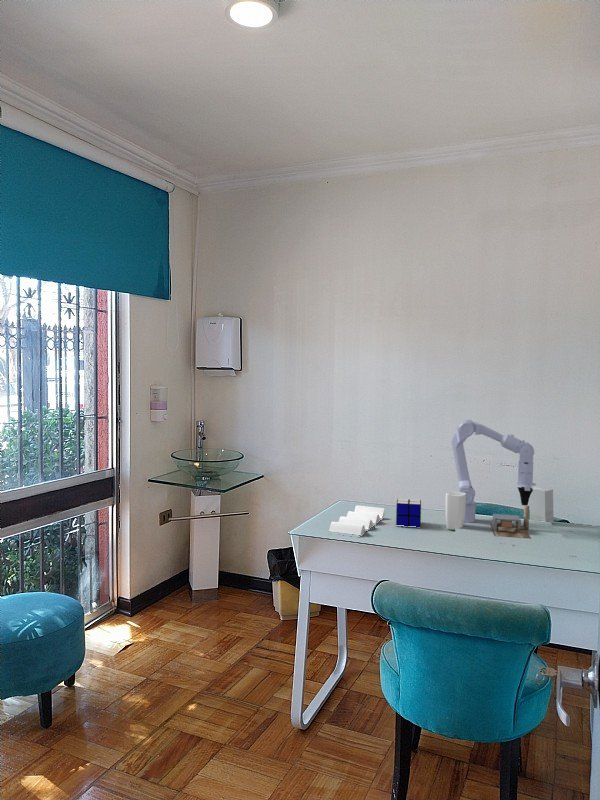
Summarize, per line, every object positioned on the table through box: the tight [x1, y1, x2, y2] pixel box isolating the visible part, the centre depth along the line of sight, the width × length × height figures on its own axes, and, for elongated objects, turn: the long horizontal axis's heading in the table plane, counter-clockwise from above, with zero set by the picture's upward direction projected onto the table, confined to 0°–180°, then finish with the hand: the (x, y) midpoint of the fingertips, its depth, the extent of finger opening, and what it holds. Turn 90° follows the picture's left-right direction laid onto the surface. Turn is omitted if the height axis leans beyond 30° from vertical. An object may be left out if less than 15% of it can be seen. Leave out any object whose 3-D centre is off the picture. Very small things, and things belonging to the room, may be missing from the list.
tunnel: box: [491, 513, 522, 532], centre depth 252 cm, size 10×8×5 cm
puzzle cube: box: [395, 498, 422, 528], centre depth 264 cm, size 10×10×10 cm
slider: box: [497, 505, 530, 532], centre depth 251 cm, size 12×8×9 cm, turn 78°
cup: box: [445, 491, 466, 531], centre depth 257 cm, size 7×7×15 cm
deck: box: [489, 523, 532, 540], centre depth 251 cm, size 14×20×2 cm
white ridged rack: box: [328, 505, 385, 537], centre depth 261 cm, size 13×35×5 cm, turn 157°
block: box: [500, 520, 513, 527], centre depth 252 cm, size 4×4×4 cm
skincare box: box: [529, 486, 554, 524], centre depth 271 cm, size 8×6×15 cm
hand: (524, 505), depth 259 cm, fingers closed
